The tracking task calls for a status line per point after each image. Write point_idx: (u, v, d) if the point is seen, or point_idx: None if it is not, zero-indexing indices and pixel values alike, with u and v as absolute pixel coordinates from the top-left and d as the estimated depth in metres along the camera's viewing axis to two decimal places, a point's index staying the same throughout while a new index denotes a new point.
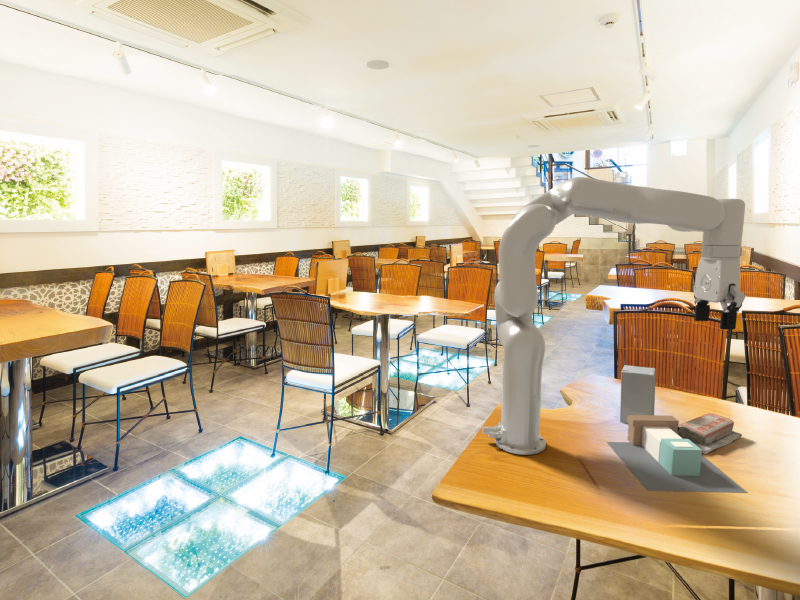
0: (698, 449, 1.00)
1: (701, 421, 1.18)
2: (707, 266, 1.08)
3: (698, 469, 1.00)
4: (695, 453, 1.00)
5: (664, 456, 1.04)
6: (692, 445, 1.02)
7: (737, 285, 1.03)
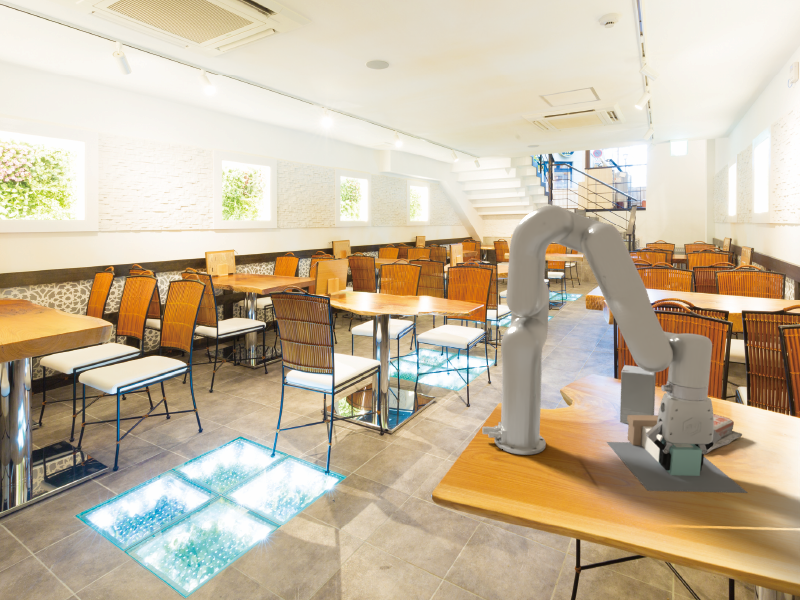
0: (698, 449, 1.00)
1: None
2: (693, 409, 0.98)
3: (698, 469, 1.00)
4: (695, 453, 1.00)
5: None
6: (692, 445, 1.02)
7: None
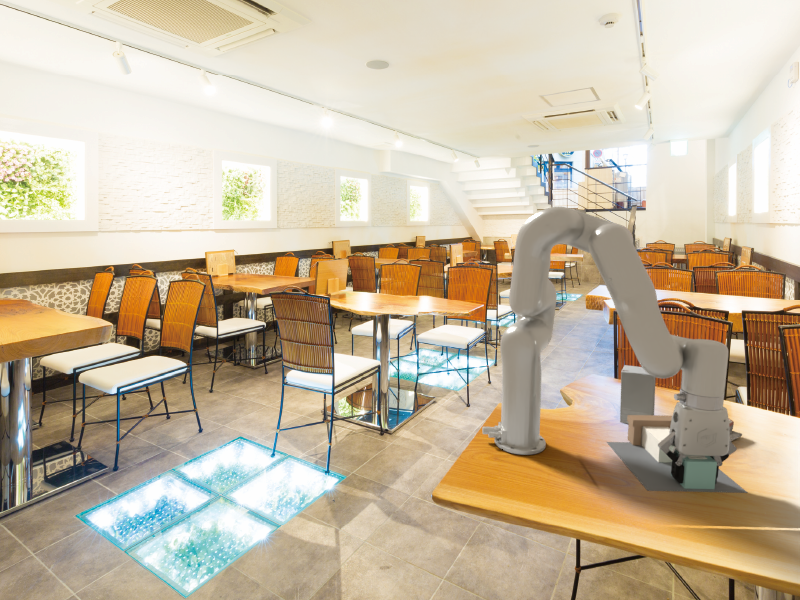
0: (713, 461, 0.95)
1: None
2: (708, 419, 0.93)
3: (713, 482, 0.95)
4: (710, 465, 0.95)
5: None
6: (706, 457, 0.96)
7: None
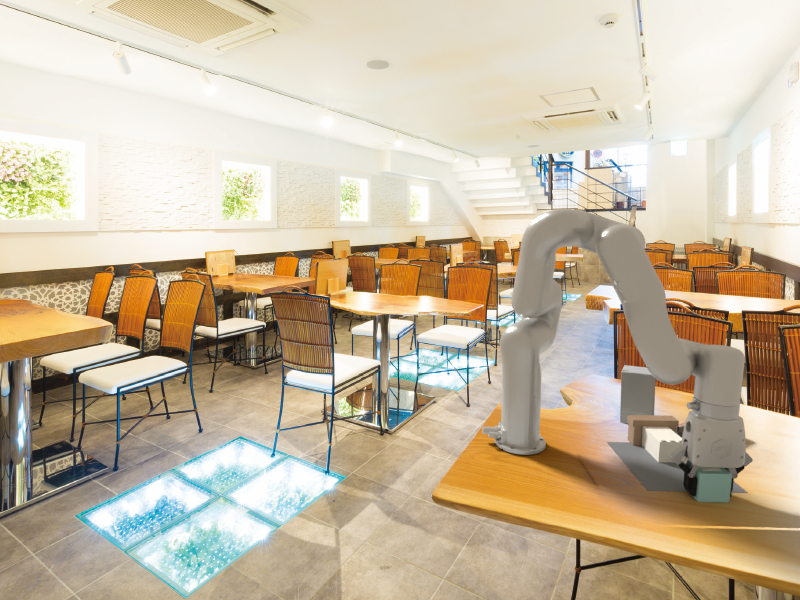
0: (728, 473, 0.90)
1: None
2: (722, 429, 0.88)
3: (728, 495, 0.90)
4: (724, 477, 0.90)
5: None
6: (721, 468, 0.92)
7: None
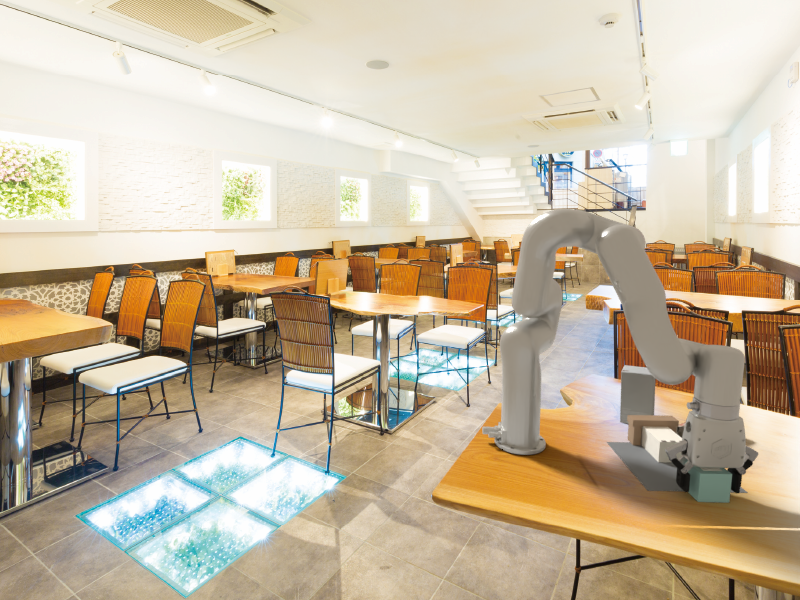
0: (728, 473, 0.90)
1: None
2: (722, 429, 0.88)
3: (728, 495, 0.90)
4: (724, 477, 0.90)
5: None
6: (721, 468, 0.92)
7: None
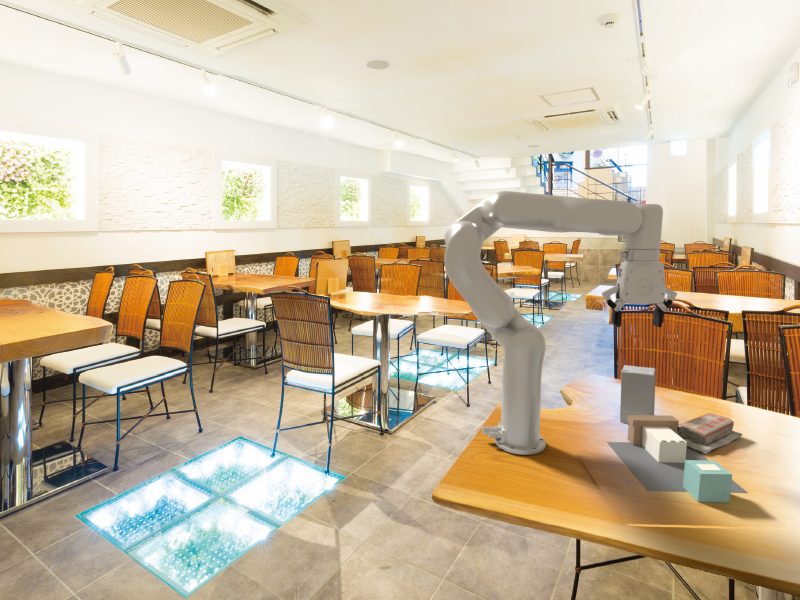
0: (728, 473, 0.90)
1: (700, 421, 1.18)
2: (646, 270, 1.08)
3: (728, 495, 0.90)
4: (724, 477, 0.90)
5: (689, 480, 0.94)
6: (721, 468, 0.92)
7: None
